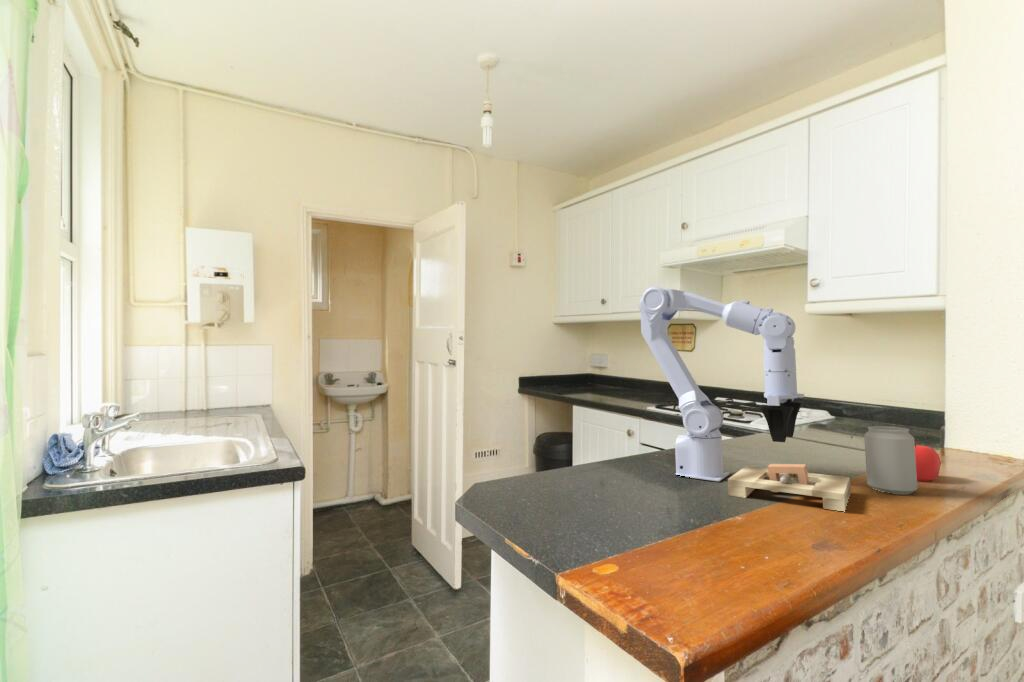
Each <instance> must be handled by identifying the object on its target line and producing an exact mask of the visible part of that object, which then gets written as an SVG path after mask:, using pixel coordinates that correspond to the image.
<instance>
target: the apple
mask: <svg viewBox="0 0 1024 682" xmlns="http://www.w3.org/2000/svg"><path fill="white" fill-rule="evenodd" d="M916 443H917V442H916V439H914V444H915V459H916V474H917V480H920V481H919V482H927V481H928V482H930V481H931V480H934V479H936V478H937V477H939V474H940V470H941V465H942V461H941V458H940V456H939V453H937V451H936V450H935V449H934V448H933V447H929V446H927V445H921V444H916Z"/></svg>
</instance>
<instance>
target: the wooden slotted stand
mask: <svg viewBox="0 0 1024 682" xmlns="http://www.w3.org/2000/svg"><path fill="white" fill-rule="evenodd" d="M807 473H808V479H809V483H813V484H814V483H815V484H814V485H813V484H809V485H804V484H799V483H795V482H790V481H798V482H799V480H798V474H788V473H779V478H780V481H772V480H769V479H766V478H769V473H768V467H759V466H758V467H757V466H756V467H755V466H749V465H748V466H747V465H745V466H743V467H742V468H741V469H740V470H738V471H737V472H736V473H734V474H732V475H731V476H730V477H728V478H727V492H728V493H727V496H729V497H730V496H731V497H736V498H737V497H738V498H744V499H746V498H748V496H750V494H752V493H753V492H754V490H756V489H758V490H764V491H765V490H766V491H770V492H771V491H779V492H778V493H780V492H781V493H786V494H787V493H788V494H795V495H802V496H809V497H817V498H822V508H826V509H831V510H837V511H844V512H845V513H846V511H845V510H847V508H846V506H847V507H848V505H847V503H848V504H849V501H848V499H849V500H850V498H849V496H850V497H851V495H850V492H851V493H852V491H851V477H850V476H849V477H848V476H840V475H831V474H823V473H814V472H807ZM837 511H836V512H837ZM844 512H843V513H844Z"/></svg>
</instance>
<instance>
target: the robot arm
mask: <svg viewBox="0 0 1024 682" xmlns="http://www.w3.org/2000/svg"><path fill="white" fill-rule="evenodd" d="M638 308H639V311H640V331H641V332H640V333H641V336H642V337H643V339H644V340H645V343H646V344H647V346H648V348H649V349H650V351H651V353H652V355H653V357H654V358H655V361H656V362H657V364H658V366H659V367H660V369H661V371H662V373H663V374H664V376H665V377H666V380H667V381H668V383H669V385H670V386H671V388H672V391H673V392H674V394H675V396H676V397H677V399H678V410H679V411H680V413H681V415H682V423H683V427H684V429H685V430H686V434H685V433H684V434H678V435H677V436H676V439H675V444H674V447H675V449H674V450H675V451H674V452H675V455H674V456H675V474H676V475H680V476H679V477H681V476H685V477H684V478H689V477H690V479H698V480H705V481H712V482H721V481H722V480H724V479H725V478H726V477H728V476H729V475H730V472H728V471H724V461H723V460H724V459H723V458H724V456H723V436H722V433H721V431H720V428H721V427H722V426H723V423H724V415H723V412H722V410H721V409H720V408H719V407H718V406H716V405H715V404H714V403H712V401H711V400H710V399H709V397H708V395H706V394H705V393H704V392H703V391H702V390H701V389H700V387H699V386H698V384H697V382H696V379H694V377H693V375H692V374H691V372H690V371H689V368H688V367H687V365H686V363H685V361H684V360H683V358H682V357H681V355H680V354H679V352H678V350H677V348H676V346H675V345H674V343H673V341H672V340H671V338H670V337H669V334H668V333H667V331H668V330H667V329H668V326H669V325H670V321H672V319H673V318H674V317H675V315H676V314H677V313H678V312H684V311H688V310H694V311H697V312H700V313H704V314H708V315H710V316H711V315H712V316H715V317H719V318H721V319H722V320H723V322H724V324H725V326H726V327H729V328H733V329H736V330H739V331H742V332H746V333H749V334H752V335H755V336H758V335H761V336H762V337H763V342H762V343H763V350H762V359H763V360H762V362H763V380H764V381H763V382H764V393H763V397H764V398H765V399H767V404H759V410H760V411H761V412H762V414H763V416H764V418H765V420H766V422H767V423H766V424H767V426H768V431H769V433H770V437H771V441H772V442H775V443H785V442H786V440H787V438H793V437H794V433H795V428H796V421H797V416H798V414H799V411H800V410H801V408H802V406H803V402H800V401H794V400H795V399H799V398H801V399H802V398H805V393H798V385H797V384H798V381H797V360H796V349H795V340H794V334H795V333H796V324H795V321H794V320H793V318H792V317H790V316H789V315H786V314H785V313H783V312H773V311H774V309H773V308H772V307H766V308H762V307H760V306H756V305H753V304H750V301H749V300H745V299H742V300H741V301H739V300H735V301H732V302H731V303H728V304H727V303H723V302H720V301H717V300H714V299H710V298H708V297H704V296H701V295H698V294H696V293H692V292H689V291H685V290H680V289H679V290H678V289H673V288H668V287H667V288H665V289H664V288H663V287H660V286H657V285H656V286H655V285H654V286H651V287H648V288H646V290H645V291H644V292H643V294H642V295H641V297H640V300H639V304H638ZM675 474H674V475H675Z"/></svg>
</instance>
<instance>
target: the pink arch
mask: <svg viewBox="0 0 1024 682" xmlns="http://www.w3.org/2000/svg"><path fill="white" fill-rule="evenodd" d="M767 468H768V473H769V477H768V478H769V479H768V480H772V481H780V478H779V473H788V474H798V480H799V481H798V484H804V485H810V482H809V479H808V473H809V472H808V468H807V463H806V464H805V463H803V464H802V463H801V464H800V463H770V464H769V465H767ZM770 492H771V493H780V492H779V491H771V490H770Z"/></svg>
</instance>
